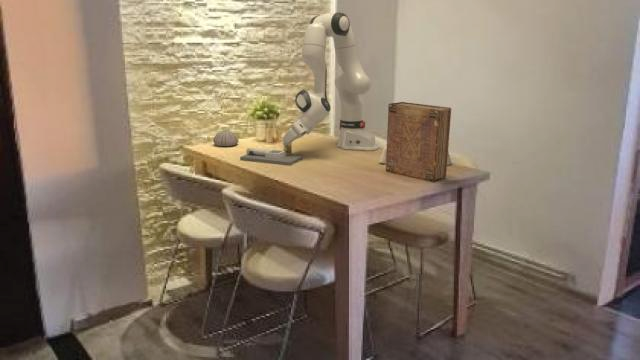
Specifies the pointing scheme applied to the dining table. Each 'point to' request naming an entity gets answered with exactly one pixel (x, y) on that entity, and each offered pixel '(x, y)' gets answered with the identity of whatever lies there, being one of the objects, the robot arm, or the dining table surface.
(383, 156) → the faucet
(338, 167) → the dining table surface
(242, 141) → the dining table surface
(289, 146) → the brass valve
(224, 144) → the sea urchin shell
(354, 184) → the dining table surface
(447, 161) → the flask
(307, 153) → the dining table surface
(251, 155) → the pipe board
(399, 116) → the book
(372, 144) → the robot arm
